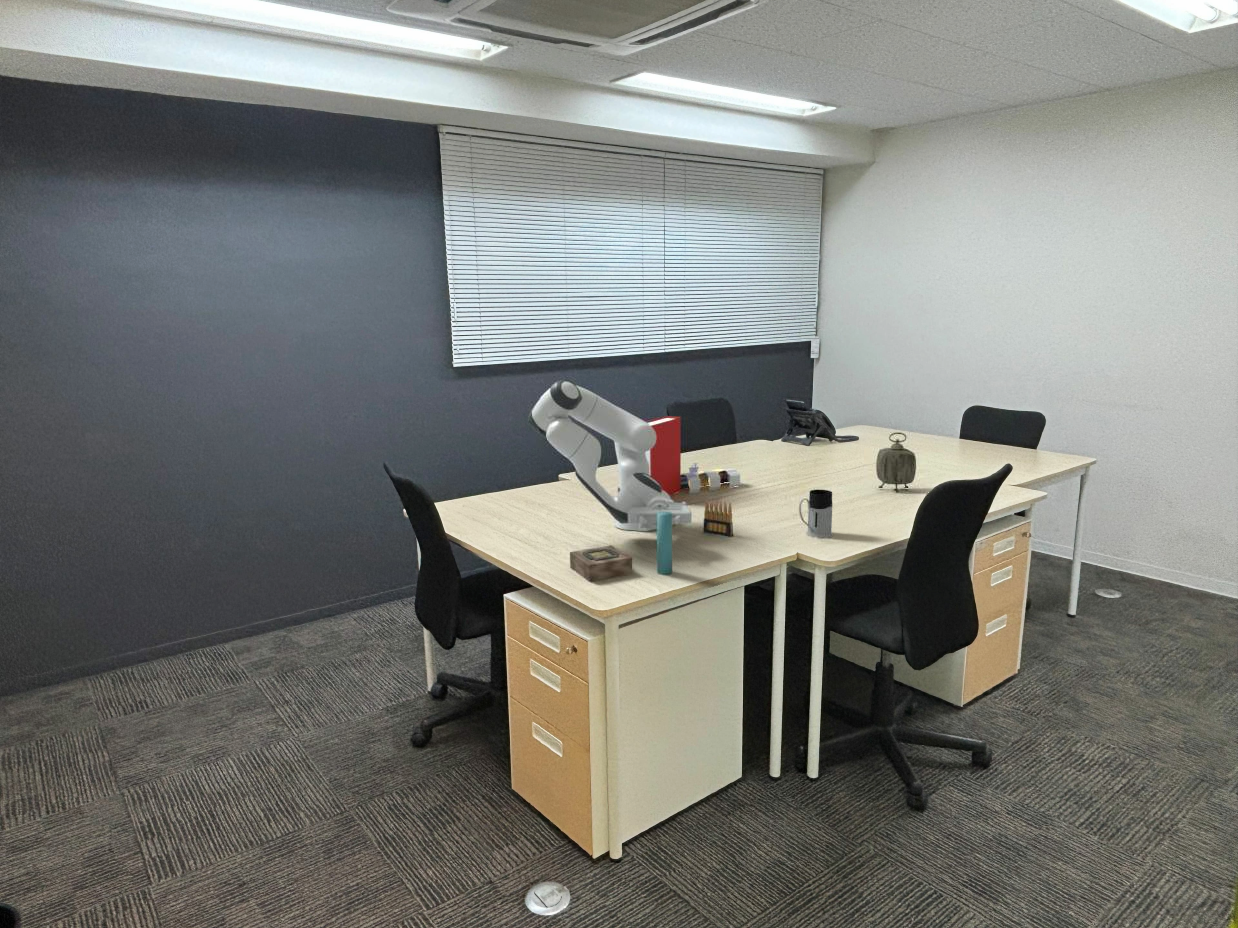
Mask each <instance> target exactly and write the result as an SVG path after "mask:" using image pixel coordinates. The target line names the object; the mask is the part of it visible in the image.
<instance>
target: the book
mask: <svg viewBox="0 0 1238 928" xmlns="http://www.w3.org/2000/svg"><path fill="white" fill-rule="evenodd" d="M681 420H682V419H681V416H674V415H673V416H672V415H662V416H659V417H656V418H652V419H648V420H644V421H645V422H646V423H648V424H649V425H650V426H651V427H652V428H653V429H654V431H655V433H656V443H655V445H654V447H653V448H652V449H650V450H649V451H646V452H645V453H646V458H647V461H648V463H649V475H650V476H651V477H653V478H654V479H655V480H656V481H657V482H658V483H659V484H660V485H661V489H662V490H664V491H665V492H666V493H667V494H668V495H669V496H670V495H671V496H673V495H675V494H677V493H676V492H678V493H680V492H682V491H681V474H682V473H681V470H682V466H681V463H682V462H681V461H682V460H681V459H682V458H681V457H682V456H681V451H682V450H681V445H682V441H681V433H682V431H681V426H682V425H681ZM679 491H680V492H679ZM674 493H675V494H674ZM672 494H673V495H672ZM671 496H670V497H671Z"/></svg>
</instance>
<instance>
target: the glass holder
mask: <svg viewBox="0 0 1238 928" xmlns="http://www.w3.org/2000/svg"><path fill="white" fill-rule="evenodd" d="M808 496H809V499H807V498H802V499H801V500H800V502H799V504H798V512H799V517H800V519H801V521H802V522H803V523H804V524H805V525H806V526H807V531H806V536H807V537H810V536H811V538H814V537H817V538H816V539H827V538H826V537H829V538H831V537H830V536H832V535H833V532H832V529H833V527H832V525H833V524H832V523H833V492H832V491H831V490H828V489H812V490H809V495H808ZM804 501H806V502H807V509H808V510H807V511H808V512H807V513H808V514H807V516H808V517H807V522H806V521H805V520H804V517H803V514H802V503H803V502H804ZM832 537H833V536H832Z"/></svg>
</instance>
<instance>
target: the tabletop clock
mask: <svg viewBox="0 0 1238 928" xmlns="http://www.w3.org/2000/svg"><path fill="white" fill-rule="evenodd" d="M894 435H902V436H904V439H903V440H900V439H899V438H896V440H893V439H892V438H891V437H893V436H894ZM888 439H889V440H890V441H891V442H893V443H892V444H891V446H890V447H886V448H881V449H879V451H878V453H877V457H876V464H875V465H876V466H875V468H876V469H875V471H876V476H877V479H878V480H879V481H880V482H881V483H882V484H881V485H879V486H878V489H879V488H882V489H883V486H885V484H887V485H895V489H894V490H895V491H898V492H899V488H898V485H904V489H905V488H908V489H909V488H910V487H909V486H908V485H909V484H911V483H913V482H914V480H915V477H916V471H917V457H916V454H915V452H913V451H911V450H910V449H907V448H905V447H904V446H903V444H902V443H903V442H905V441H907V435H906V434H905V433H903V432H897V431H896V432H892V433H891V434H889V437H888ZM895 491H894V492H895Z"/></svg>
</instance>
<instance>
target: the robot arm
mask: <svg viewBox="0 0 1238 928" xmlns="http://www.w3.org/2000/svg"><path fill="white" fill-rule="evenodd" d="M569 416H570V417H569ZM571 418H573V419H574V420H576V421H577V422H580V423H581V424H583V425H585V426H587V427H588V428H590V429H592V430H593V431H596V432H597V433H598V434H600V435H603V436H604V437H606V438H608V439H610V440H611V441H613V442H614V449H615V454H616V459H617V465H618V466H617V467H618V487H617V493H616V494H615V496H613V495H612V494H610V492H608V490H606V488H604V486H603V485H601V483H599V481H598V479H597V478H596V477H597V471H598V467H599V465H600V460H601V456H602V448H601V447H602V446H601V443H600V441H599V440H598V439H597V438H596V437H595V436H594V435H593V434H591V433H590V432H589V431H587V430H586V429H584V427H582V426H580V425H578V424H576V423H575V422H573V421H572V420H571ZM527 419H528V423H529V425H530V427H531V428H532V429H533V431H535V432H536V433H538V434H539V435H541V436H544V437H546V438H545V439H547V441H548V442H549V444H550V445H551V446H552V447H553V448H554V449H555V450H556V451H557V452H559V453H560V454H561V455H562V456H563V457H565V458H566V459H567V460H569V461H570V462H571V463H572V464H573V466H574V468H575V472H574V473H575V476H576V477H577V479H578V480H579V482H580V483H581V484H582V485H583V486H584V488H585V489H586V490H587V491H588V492H589V493H590V494H591V495H592V496H593V497H594V498H595V499H596V500H597V501H598V502H599V503H600V504H601V505H602V506H603V507H604V508H605V509H606V510H607V512H608V513H609V514H610V515H611V517H613V519H614V520H615V523H614V526H615V527H616V528H617V529H621V530H625V531H637V532H638V531H639V532H649V531H655V530H657V513H658V512H671V513H672V526H675V525H677V526H678V525H679V524H681V525H682V524H684V525H687V524H692V520H693V519H692V510H691V508H690V507H689V506H688V505H687V503H686V501H681V500H674V499H672V498H671V496H669V495H668V494H667V493H666V492H665V491H664V490H662V489H661V485H660V484H659V483H658V482H657V481H656V480H655V479H654V478H653V477H651V476H650V475H649V463H648V461H647V458H646V453H645V452H646V451H649V450H650V449H652V448H653V447H654V445H655V443H656V433H655V431H654V429H653V428H652V427H651V426H650V425H649V424H648V423H646V422H645V421H646V420H643V419H641V418H640V417H638V416H635V415H634V414H632V413H630V412H629V411H627V410H624V409H623V408H620V407H619V406H617V405H615V404H613V403H612V402H610V401H608V400H606V399H604V398H602V397H601V396H600V395H598V394H596V393H594V392H592V391H590V390H589V389H586V388H584V387H581V386H579V385H576V384H575V383H573V382H572V381H569V380H566V379H560V380H557V381H556V382H554V383H553V384H552V385H551V386H550V388H548V389H547V390H546V391H545V392H544V393H543V394H542V395H541V396H540V398H539V399H538V401H537V402H536V404H535V405H534V406H533V407H532V408H531V410H530V412H529V414H528V418H527Z"/></svg>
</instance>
